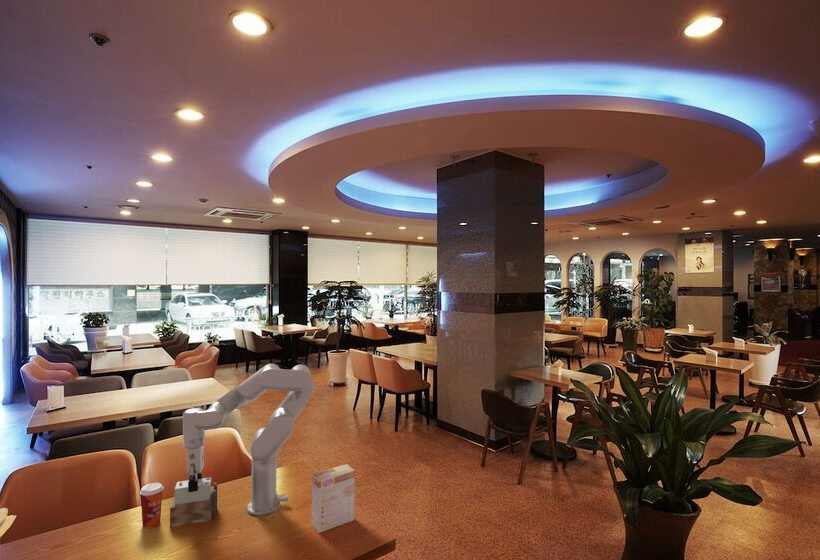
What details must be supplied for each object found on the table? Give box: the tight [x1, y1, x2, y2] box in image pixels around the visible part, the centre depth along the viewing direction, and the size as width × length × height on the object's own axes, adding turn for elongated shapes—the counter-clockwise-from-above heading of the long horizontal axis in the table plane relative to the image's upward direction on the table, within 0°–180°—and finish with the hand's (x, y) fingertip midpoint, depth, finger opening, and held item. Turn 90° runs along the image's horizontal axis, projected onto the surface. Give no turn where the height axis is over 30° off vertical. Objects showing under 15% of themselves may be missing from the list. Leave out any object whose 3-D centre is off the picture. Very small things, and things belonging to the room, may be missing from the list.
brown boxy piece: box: [169, 482, 218, 527], centre depth 169 cm, size 15×10×10 cm, turn 108°
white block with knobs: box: [174, 477, 212, 505], centre depth 169 cm, size 12×6×7 cm, turn 110°
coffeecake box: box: [311, 463, 356, 534], centre depth 166 cm, size 15×7×20 cm, turn 126°
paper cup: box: [139, 482, 164, 529], centre depth 163 cm, size 8×8×14 cm
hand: (195, 485), depth 169 cm, fingers open, 9 cm apart
